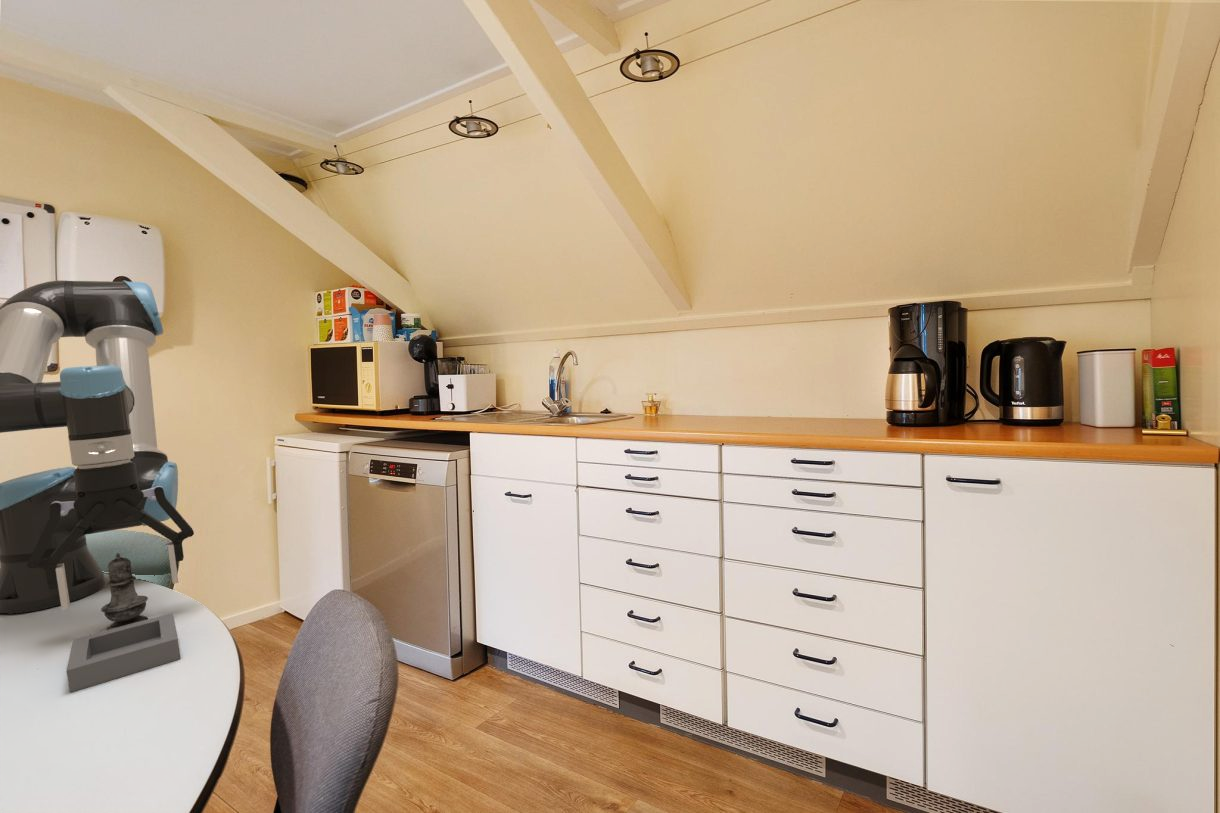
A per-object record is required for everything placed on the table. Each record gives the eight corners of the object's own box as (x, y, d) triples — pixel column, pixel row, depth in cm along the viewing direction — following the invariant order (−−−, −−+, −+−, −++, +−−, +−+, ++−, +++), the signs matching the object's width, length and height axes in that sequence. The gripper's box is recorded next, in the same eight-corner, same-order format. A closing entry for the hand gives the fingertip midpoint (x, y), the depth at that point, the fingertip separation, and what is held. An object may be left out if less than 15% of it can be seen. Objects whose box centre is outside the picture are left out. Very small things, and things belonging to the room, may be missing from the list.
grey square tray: (76, 658, 85) (73, 639, 84) (175, 631, 92) (173, 612, 92) (69, 692, 76) (66, 670, 75) (180, 658, 83) (177, 638, 83)
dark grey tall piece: (124, 634, 92) (113, 559, 91) (94, 632, 93) (83, 559, 92) (159, 616, 98) (150, 546, 96) (131, 615, 99) (121, 546, 98)
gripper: (-14, 481, 82) (9, 627, 84) (202, 453, 98) (217, 577, 99) (-4, 475, 88) (17, 611, 90) (198, 449, 103) (213, 566, 105)
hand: (123, 593), depth 94 cm, fingers open, 13 cm apart
